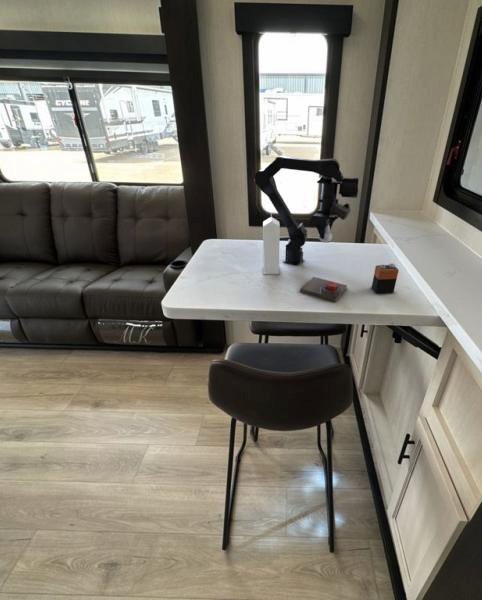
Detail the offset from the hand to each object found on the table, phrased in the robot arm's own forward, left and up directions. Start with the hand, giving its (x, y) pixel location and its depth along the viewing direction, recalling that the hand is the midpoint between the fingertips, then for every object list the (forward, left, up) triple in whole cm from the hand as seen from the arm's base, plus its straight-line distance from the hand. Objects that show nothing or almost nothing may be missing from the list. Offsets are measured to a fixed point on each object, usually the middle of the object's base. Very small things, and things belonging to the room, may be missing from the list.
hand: (324, 236), depth 121 cm
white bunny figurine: (0, 0, -2) cm, 2 cm away
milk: (-14, -17, -12) cm, 25 cm away
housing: (+10, -21, -12) cm, 26 cm away
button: (+13, -24, -9) cm, 29 cm away
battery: (+28, -10, -12) cm, 32 cm away
